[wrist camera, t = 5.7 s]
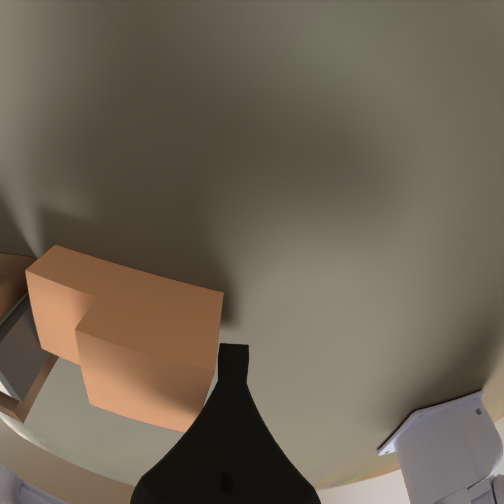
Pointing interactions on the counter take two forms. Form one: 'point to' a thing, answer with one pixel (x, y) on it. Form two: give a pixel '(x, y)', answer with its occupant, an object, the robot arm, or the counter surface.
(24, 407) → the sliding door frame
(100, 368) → the peach two-level step
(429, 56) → the counter surface
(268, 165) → the counter surface
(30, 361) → the sliding door
